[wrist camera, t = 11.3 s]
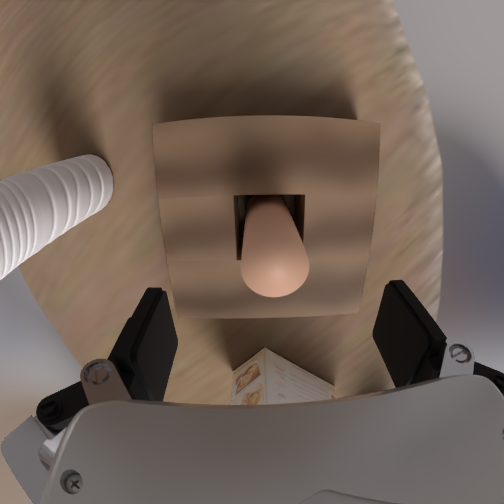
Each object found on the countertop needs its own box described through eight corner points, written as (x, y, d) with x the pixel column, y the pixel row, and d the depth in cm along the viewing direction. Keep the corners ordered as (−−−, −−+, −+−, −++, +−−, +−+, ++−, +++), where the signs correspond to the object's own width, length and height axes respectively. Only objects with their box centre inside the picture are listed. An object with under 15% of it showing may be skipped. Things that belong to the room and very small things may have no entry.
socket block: (170, 125, 23) (152, 124, 19) (358, 123, 23) (379, 123, 19) (187, 291, 31) (177, 317, 26) (345, 287, 30) (358, 313, 26)
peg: (245, 191, 26) (239, 236, 15) (287, 191, 26) (311, 235, 15) (246, 230, 28) (242, 297, 17) (286, 230, 28) (307, 296, 17)
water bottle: (104, 144, 24) (-128, 231, 1) (122, 201, 26) (-71, 368, 4) (50, 173, 25) (-125, 269, 2) (67, 223, 27) (-87, 356, 5)
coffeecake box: (231, 371, 36) (220, 500, 19) (265, 344, 34) (270, 490, 16) (302, 406, 40) (315, 510, 22) (336, 385, 38) (361, 495, 20)
